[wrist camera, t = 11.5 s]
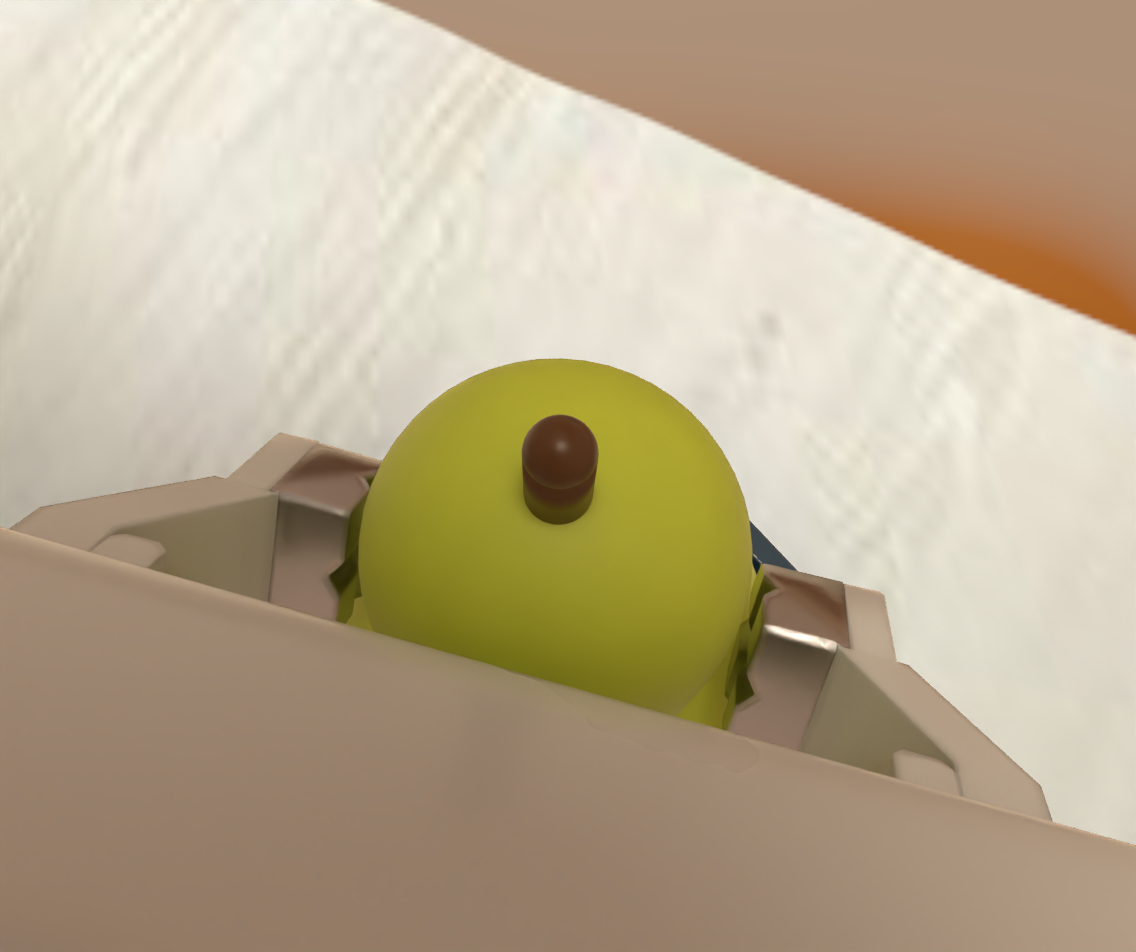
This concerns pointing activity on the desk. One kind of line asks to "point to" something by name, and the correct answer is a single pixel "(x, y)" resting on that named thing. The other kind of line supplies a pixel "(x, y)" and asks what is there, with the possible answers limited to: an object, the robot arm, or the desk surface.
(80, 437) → the desk surface
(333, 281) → the desk surface
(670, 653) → the pear
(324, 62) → the desk surface
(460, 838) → the robot arm
